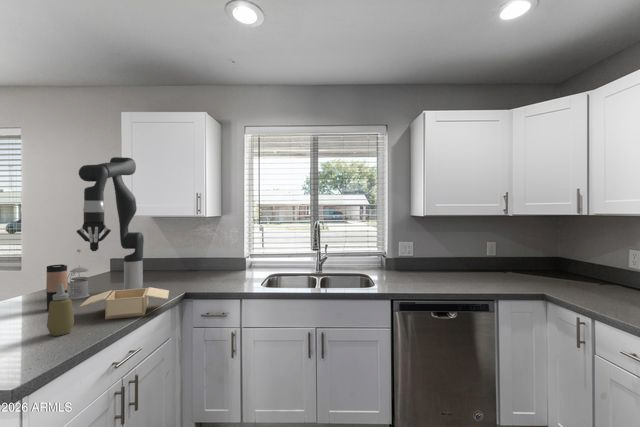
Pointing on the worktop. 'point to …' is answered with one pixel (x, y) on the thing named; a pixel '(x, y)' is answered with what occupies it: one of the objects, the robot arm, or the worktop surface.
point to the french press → (78, 284)
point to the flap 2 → (157, 293)
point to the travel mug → (55, 280)
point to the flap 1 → (96, 298)
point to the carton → (126, 303)
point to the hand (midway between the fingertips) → (94, 251)
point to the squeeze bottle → (60, 313)
